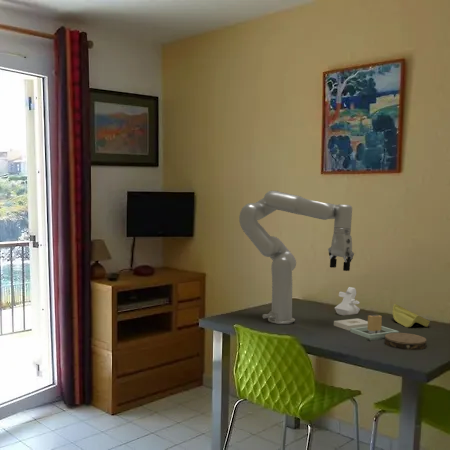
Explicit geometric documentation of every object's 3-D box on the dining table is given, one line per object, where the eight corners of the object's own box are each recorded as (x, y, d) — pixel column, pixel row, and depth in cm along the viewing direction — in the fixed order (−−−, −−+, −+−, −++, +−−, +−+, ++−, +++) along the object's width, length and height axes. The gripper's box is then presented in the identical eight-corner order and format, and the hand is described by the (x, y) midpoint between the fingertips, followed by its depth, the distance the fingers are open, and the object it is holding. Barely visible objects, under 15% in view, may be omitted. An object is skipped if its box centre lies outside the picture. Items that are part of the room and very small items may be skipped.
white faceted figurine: (352, 318, 260) (353, 290, 259) (331, 313, 271) (331, 286, 270) (363, 316, 265) (364, 289, 264) (342, 311, 276) (343, 285, 275)
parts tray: (369, 341, 218) (370, 335, 218) (350, 334, 228) (350, 328, 228) (398, 337, 225) (398, 331, 225) (378, 330, 236) (378, 325, 236)
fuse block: (348, 332, 231) (348, 325, 231) (333, 327, 240) (333, 321, 240) (372, 329, 237) (372, 322, 237) (357, 324, 246) (357, 318, 246)
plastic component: (432, 322, 244) (415, 314, 241) (425, 336, 244) (408, 328, 241) (408, 310, 263) (392, 302, 260) (401, 323, 263) (385, 315, 260)
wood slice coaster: (381, 339, 222) (381, 332, 222) (420, 340, 221) (420, 333, 221) (389, 349, 207) (389, 342, 207) (431, 351, 205) (431, 343, 205)
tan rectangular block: (372, 335, 224) (372, 316, 224) (367, 334, 227) (367, 315, 227) (381, 334, 227) (381, 315, 226) (376, 333, 229) (376, 314, 229)
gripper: (361, 233, 234) (358, 272, 235) (337, 230, 250) (334, 266, 251) (347, 233, 231) (344, 272, 232) (323, 229, 246) (321, 266, 247)
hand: (339, 269), depth 241 cm, fingers open, 9 cm apart
